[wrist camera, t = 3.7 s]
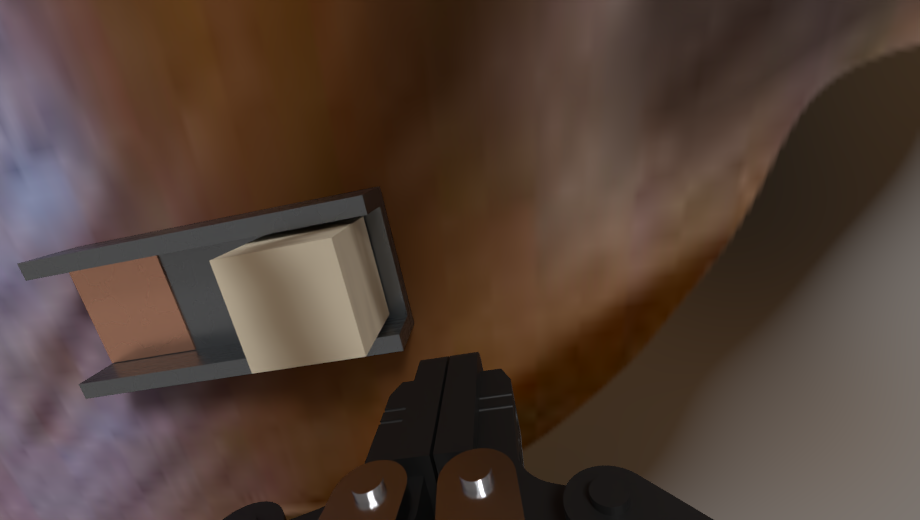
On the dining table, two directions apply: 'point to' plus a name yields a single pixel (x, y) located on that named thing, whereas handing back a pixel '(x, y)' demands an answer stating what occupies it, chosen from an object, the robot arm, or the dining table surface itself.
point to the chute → (201, 292)
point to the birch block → (304, 295)
